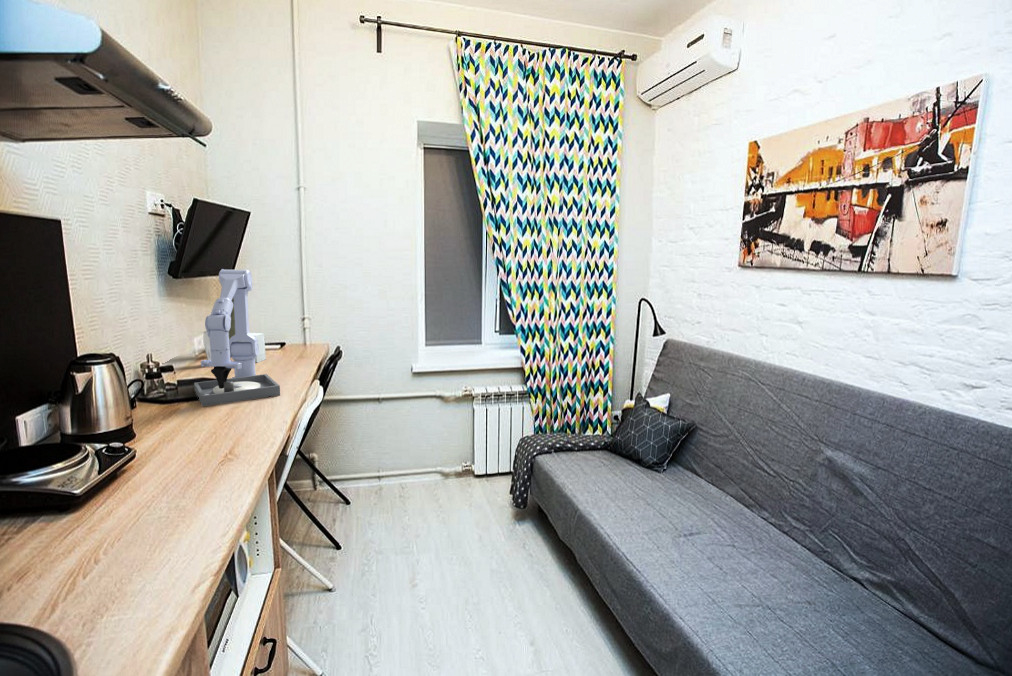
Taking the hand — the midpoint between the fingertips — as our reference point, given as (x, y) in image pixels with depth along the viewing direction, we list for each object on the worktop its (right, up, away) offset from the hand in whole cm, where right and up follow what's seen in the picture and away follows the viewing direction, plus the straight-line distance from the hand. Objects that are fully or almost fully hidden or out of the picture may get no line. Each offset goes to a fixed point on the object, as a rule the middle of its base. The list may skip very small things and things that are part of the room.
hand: (222, 387), depth 168 cm
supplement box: (-19, +6, +58) cm, 61 cm away
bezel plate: (+1, -3, +7) cm, 8 cm away
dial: (+1, -2, +6) cm, 7 cm away
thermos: (-34, +9, +68) cm, 76 cm away
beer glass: (-32, +5, +48) cm, 58 cm away
